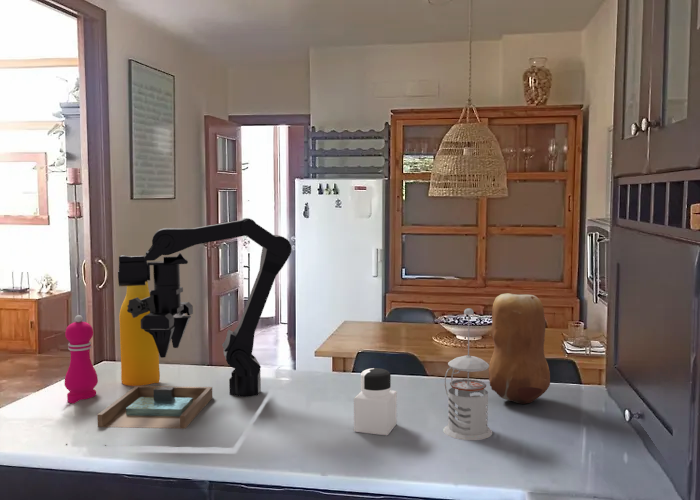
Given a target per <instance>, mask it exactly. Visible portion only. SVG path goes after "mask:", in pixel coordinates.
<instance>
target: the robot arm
mask: <svg viewBox="0 0 700 500" xmlns="http://www.w3.org/2000/svg"><path fill="white" fill-rule="evenodd" d="M240 237H247V238H249V239H250V240H252V241H253V242H254V243H255V244H257V245H258V246H259V247H262V248H261V253H260V261H259V262H260V263H259V269H258V273H257V276H256V278H255V281H254V283H253V287H252V289H251V291H250V293H249V296H248V299H247V302H246V304H245V307H244V310H243V313H242V315H241V318H240V320H239V323H238V325H237V327H236V328H235V329H234V330H233V331H232V330H230V329H227V332H226V337H225V339H224V341H223V343H222V344H221V345H222V349H223V356H224V358H225V360H226V363H227V365H229V366H230V367H231V368H232V369H233V370H232V371H231V373H230V374H231V376H230V377H229V382H228V383H229V387H228V388H229V389H228V390H229V395H230V396H236V397H240V398H241V397H242V398H245V397H246V398H247V397H248V398H249V397H254V396H259V395H260V393H261V382H262V381H261V378H262V377H261V367H262V366H261V365H260V363H259V362H258V359H257V357H256V356H255V355H254V354H253V350H254V342H255V332H256V330H257V328H258V325H259V321H260V319H261V316H262V314H263V311H264V308H265V306H266V303H267V301H268V298H269V296H270V292H271V290H272V287H273V285H274V281H275V279H276V277H277V276H278V274H279V273H280V271H281V270H282V269H283V267H285V264H286V262H288V261H287V260H288V259H289V258H290V256H291V253H292V250H293V249H292V248H293V247H292V245H291V242H290V241H289V240H288V238H286V237H284V236H282V235H278V234H273V233H271V232H270V231H268V230H267V229H265V228H264V227H262V226H261V225H259V224H257V223H256V221H255V220H253V219H252V218H249V217H246V218H242V219H239V220H232V221H228V222H222V223H217V224H211V225H204V226H198V227H192V228H190V227H187V228H186V227H164V228H160V229H157V230H156V231H155V233H154V234H153V236H152V240H151V246H150V247H149V249H148V250H146V251H145V254H144V255H126V254H125V255H119V256H118V271H117V277H118V279H117V280H118V287H127V286H141V285H146V282H147V281H151V266H152V267H153V268H152V270H153V271H152V272H153V275H152V276H153V289H151V290H149V293H150V297H147V298H144V299H142V300H140V299H139V298H138V297H137V298H134V299H131V300H129V305H127V307H128V309H127V311H128V312H129V313H131V314H132V316H133V318H135V317H137V316H138V315H140V314H143V313H146V312H148V311H150V313H149V314H147V315H145V316H144V317H143V318H142V319H141V329H144V331H145V332H148V333H150V334H151V335H152V336H153V338H154V341H155V343H156V346H157V349H158V352H159V358H162V359H163V358H164V359H165V358H166V357H167V355H168V354H167V353H168V351H169V348H170V344H171V343H172V347H173V348H174V349H178V348H179V346H180V343H181V341H182V340H183V336H184V334H185V331H186V329H187V326H188V324H189V322H190V319H191V318H192V315H193V314H194V308H193V307H194V306H193V305H192V304H191V302H190V301H181V299H182V298H181V295H182V294H181V293H183V292H184V287H183V286H181V271H180V269H181V268H180V265H187V264H188V263H189V262H188V259H187V258H186V257H184V256H183V254H182V252H181V251H184V250H186V249H189V248H190V247H194V246H196V245H200V244H201V245H202V244H207V243H212V242H218V241H224V240H229V239H234V238H240ZM178 252H179V253H178ZM176 253H178V254H177V255H176V256H169V255H173V254H176ZM161 256H163V260H160V261H155V260H157V259H158V258H160V257H161Z"/></svg>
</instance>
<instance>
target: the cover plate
mask: <svg viewBox="0 0 700 500" xmlns="http://www.w3.org/2000/svg"><path fill="white" fill-rule="evenodd" d="M153 391H154V397H140V398H138V399H137V400H136V401H135V402H133V403H132V404H131V405H130V406H128V407H127V408H126V415H133V416H180V415H181V414H182V413H183V412H184V411H185V410H186V409H187V408H188V407H189V406H190V405H191V404H192V403H193V398H177V397H175V393H174V387H156V388H155V389H154V390H153Z"/></svg>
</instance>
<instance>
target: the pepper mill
mask: <svg viewBox="0 0 700 500" xmlns="http://www.w3.org/2000/svg"><path fill="white" fill-rule="evenodd" d="M83 320H84V319H83V316H82V315H80V314H77V315H76V316H75V317H74V321H73V322H72V323H70V324H68V326H66V328H65V335H64V337H65V339H66V340H67V341H68V344H67V346H68V349H67V350H69V352H70V362H69V366H68V368H67V371H66V373H65V378H64V387H65V388H66V390H68V391H69V392H68V393H67V396H66V398H67V403H70V404H73V405H74V404H76V403H77V402H79V401H80V400H81V401H82V400H88V399H91V398H93V397H95V396H96V395H97V391H96V389H95V388H96V386H97V385H98V383H99V380H98V379H99V378H98V374H97V371H96V369H95V367H94V365H93V363H92V361H91V360H92V359H91V355H90V351H91V350H90V349H92V342H91V339H92V338H93V337H94V329H93V328H94V327H92V325H91V324H90V323H88V322H86V321H83Z"/></svg>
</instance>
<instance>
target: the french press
mask: <svg viewBox="0 0 700 500" xmlns="http://www.w3.org/2000/svg"><path fill="white" fill-rule="evenodd" d="M463 315H467V316H468V319H467V329H468V330H467V354H466V355H462V356H457V357H455V358H454V359H451V360H450V361H449V362H447V365H448V367H449V368H447V370H446V372H445V375H444V387H445V392H446V395H447V396H446V397H447V398H448V400H447V401H448V402H447V403H448V407H447V408H448V409H447V411H448V416H447V417H448V418H447V423H448V424H447V425H446V426H444V427H443V433H444V434H445V435H446V436H447V437H450V438H454V439H458V440H463V441H480V440H485V439H487V438H490V437H492V435H493V431H492V429H491V428H490V427H489V426H488V411H489V407H488V404H489V392H488V390H486V387H487V383H485V382H484V381H482V380H477V379H470V373H471V372H472V373H473V372H482V371H486V370H488V369H489V364H490V363H488V362H487V361H486V360H484V359H482V358H480V357H478V356H473V355H470V316H471V315H472V316H473V315H474V309H473V308H464V311H463ZM451 369H452V372H451V376H450V377H451V379H450V382H449V385H450V388H449V389H448V388H447V375H448V372H449V371H450V370H451ZM455 370H457V372H455ZM461 371H462V372H467V378H459V379H454V380H453V376H454V375H456V374H460V373H461ZM456 390H457V394H456ZM473 393H480V394H481V395H471V394H473ZM456 405H457V407H456Z"/></svg>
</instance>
